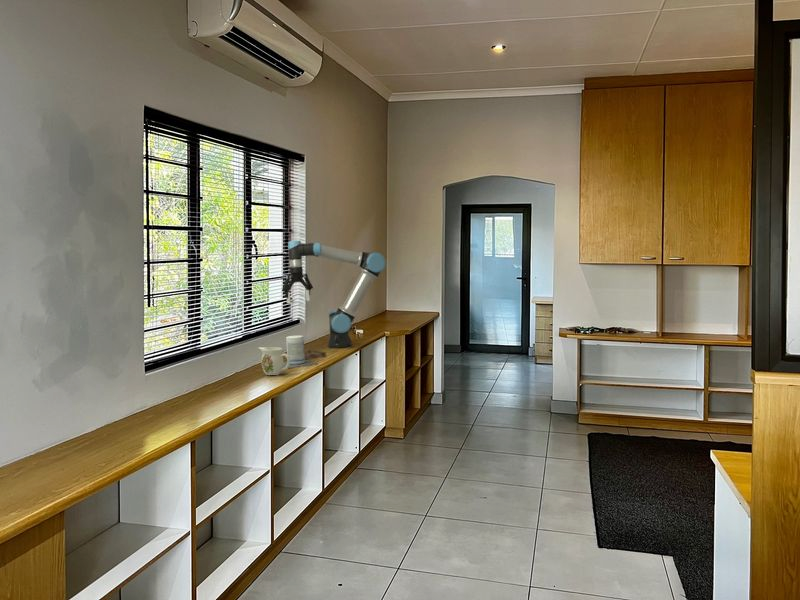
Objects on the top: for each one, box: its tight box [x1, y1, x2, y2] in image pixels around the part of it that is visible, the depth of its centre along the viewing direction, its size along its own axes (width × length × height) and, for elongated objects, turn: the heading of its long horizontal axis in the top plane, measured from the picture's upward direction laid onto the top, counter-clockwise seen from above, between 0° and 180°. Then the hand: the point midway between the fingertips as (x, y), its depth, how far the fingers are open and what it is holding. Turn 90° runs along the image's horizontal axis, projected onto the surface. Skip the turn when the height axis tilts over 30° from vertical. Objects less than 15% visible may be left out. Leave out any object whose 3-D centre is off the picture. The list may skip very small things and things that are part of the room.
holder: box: [304, 348, 327, 360], centre depth 400 cm, size 14×16×2 cm
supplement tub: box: [285, 335, 305, 364], centre depth 377 cm, size 10×10×15 cm
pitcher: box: [257, 346, 290, 376], centre depth 349 cm, size 11×18×14 cm, turn 68°
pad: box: [283, 359, 319, 369], centre depth 377 cm, size 18×18×1 cm
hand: (298, 302), depth 414 cm, fingers open, 13 cm apart
